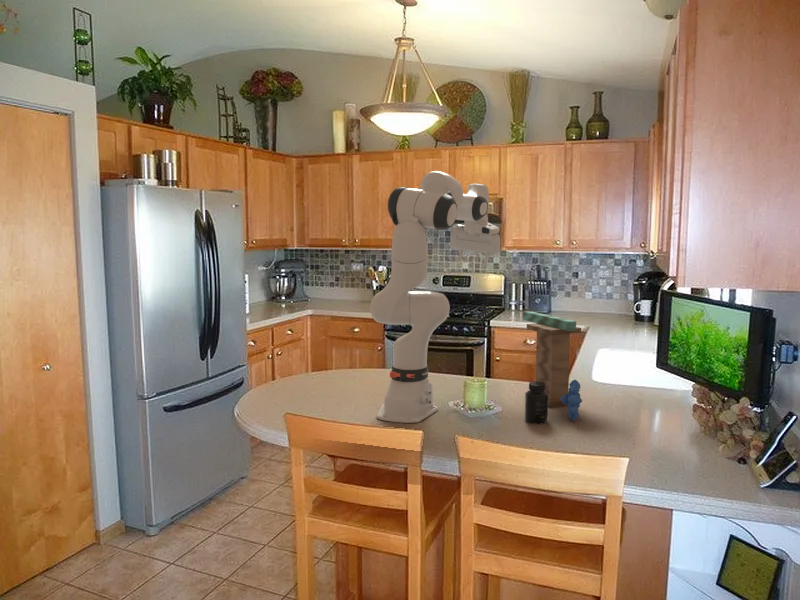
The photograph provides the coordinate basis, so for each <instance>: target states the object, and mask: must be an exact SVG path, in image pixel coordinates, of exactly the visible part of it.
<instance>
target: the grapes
mask: <svg viewBox="0 0 800 600" xmlns="http://www.w3.org/2000/svg"><path fill="white" fill-rule="evenodd" d="M581 388H582V387H581V384H580V382H579V381H578V380H577V379H572V381H571V382H570V383H569V387H568V394H564V395H563V396H562V397H561V398H560V400H561V401H562V403H563V404H567V406H566V407H567V412H568V413H567V417H569V419H570V420H571V421H576V420H577V419H578V417H579V415H580V412H579V409H580V407H581V403H582V402H583V400H582V398H581V394H580V391H581V390H580V389H581Z"/></svg>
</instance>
